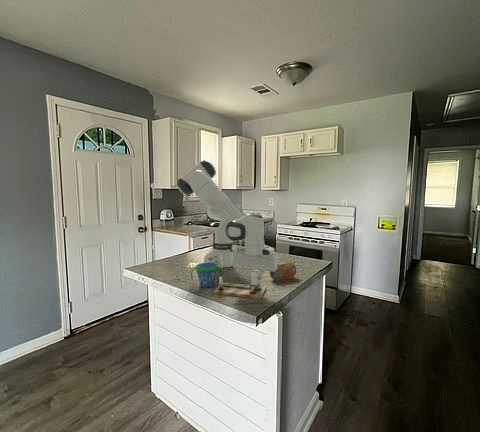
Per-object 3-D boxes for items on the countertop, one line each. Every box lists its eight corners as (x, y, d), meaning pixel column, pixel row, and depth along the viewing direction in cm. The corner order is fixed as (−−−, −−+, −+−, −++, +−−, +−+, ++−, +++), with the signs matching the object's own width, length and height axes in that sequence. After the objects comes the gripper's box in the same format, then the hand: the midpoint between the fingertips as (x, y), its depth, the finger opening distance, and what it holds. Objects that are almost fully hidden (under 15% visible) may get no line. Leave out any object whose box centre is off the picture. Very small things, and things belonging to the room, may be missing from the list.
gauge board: (212, 293, 122) (212, 289, 121) (222, 284, 133) (222, 280, 133) (260, 298, 115) (260, 294, 114) (266, 289, 126) (266, 285, 126)
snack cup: (190, 290, 126) (189, 268, 125) (192, 282, 137) (191, 263, 136) (223, 288, 128) (223, 267, 127) (222, 281, 138) (222, 261, 137)
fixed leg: (218, 290, 122) (218, 277, 122) (220, 288, 124) (219, 276, 123) (222, 290, 122) (221, 278, 121) (223, 289, 123) (223, 276, 123)
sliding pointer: (247, 292, 118) (247, 273, 118) (252, 286, 125) (251, 269, 124) (256, 293, 117) (256, 274, 116) (260, 287, 124) (260, 270, 123)
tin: (271, 282, 136) (271, 265, 135) (268, 280, 139) (268, 264, 138) (296, 277, 142) (296, 262, 141) (293, 276, 145) (293, 260, 144)
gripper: (230, 249, 121) (231, 279, 122) (275, 251, 115) (275, 283, 116) (235, 246, 127) (235, 275, 128) (278, 248, 120) (278, 278, 122)
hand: (254, 279), depth 122 cm, fingers closed on sliding pointer, 3 cm apart
